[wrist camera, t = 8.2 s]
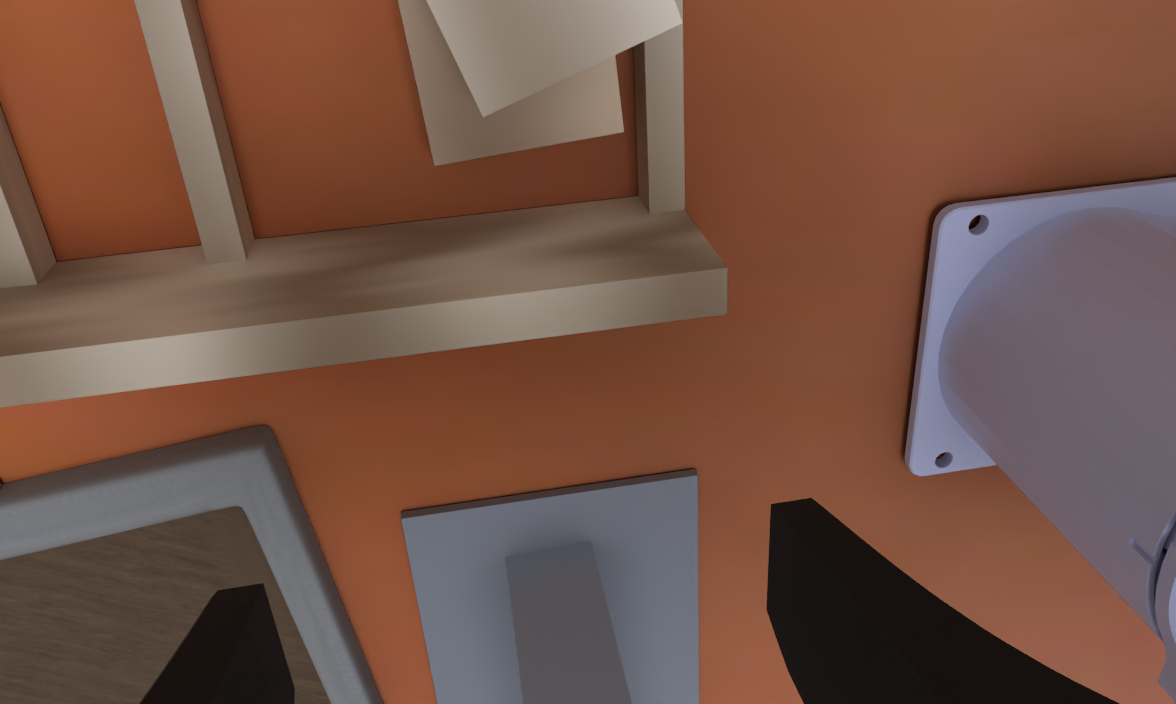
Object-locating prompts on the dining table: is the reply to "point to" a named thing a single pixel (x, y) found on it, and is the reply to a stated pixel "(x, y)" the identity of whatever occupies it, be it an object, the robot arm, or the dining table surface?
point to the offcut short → (541, 40)
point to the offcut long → (526, 124)
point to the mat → (548, 520)
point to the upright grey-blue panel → (564, 628)
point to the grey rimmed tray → (163, 572)
